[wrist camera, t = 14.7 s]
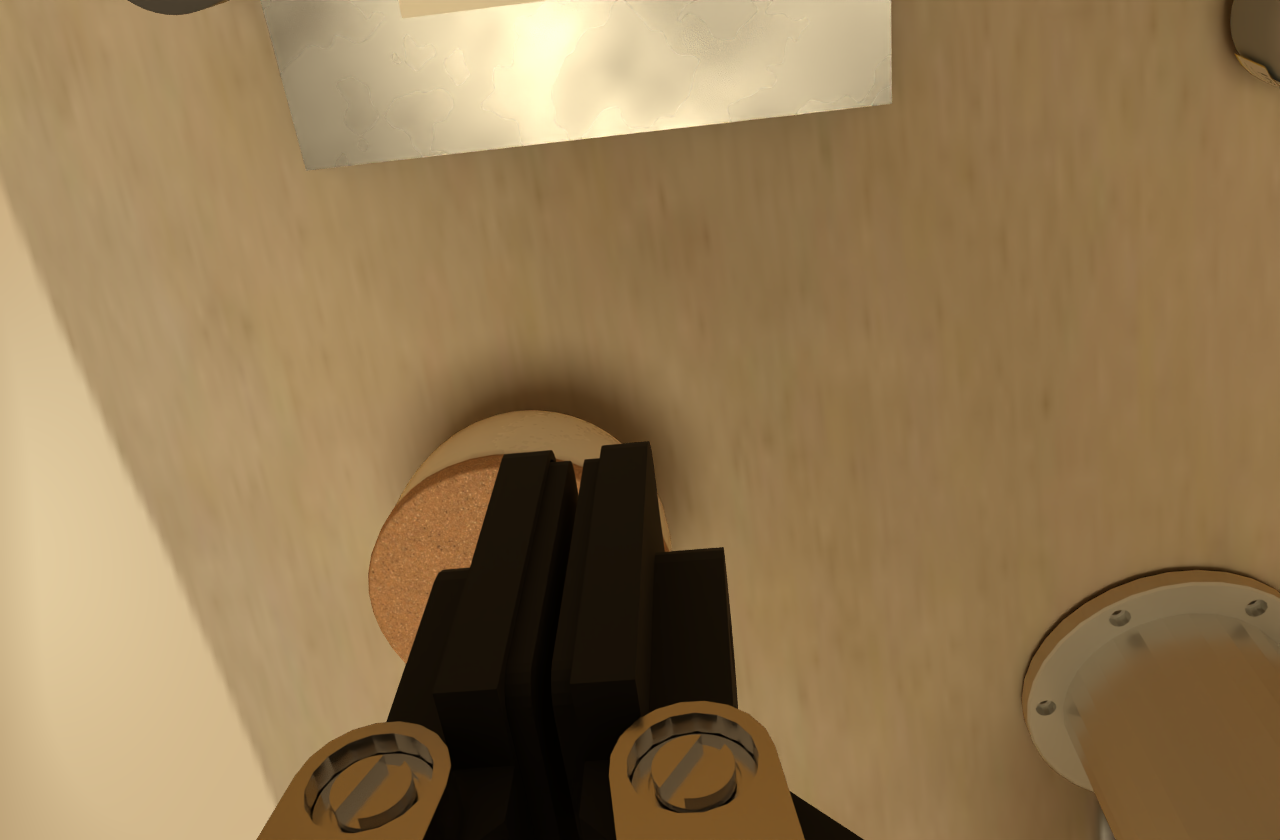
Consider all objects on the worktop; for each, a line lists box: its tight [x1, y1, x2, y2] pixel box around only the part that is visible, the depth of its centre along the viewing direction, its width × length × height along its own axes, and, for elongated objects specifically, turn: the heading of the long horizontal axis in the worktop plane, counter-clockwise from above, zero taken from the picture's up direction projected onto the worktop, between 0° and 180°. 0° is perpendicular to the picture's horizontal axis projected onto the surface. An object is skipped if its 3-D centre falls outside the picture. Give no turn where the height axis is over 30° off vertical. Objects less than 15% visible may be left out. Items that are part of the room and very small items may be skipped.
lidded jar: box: [368, 410, 671, 663], centre depth 39 cm, size 11×11×9 cm
